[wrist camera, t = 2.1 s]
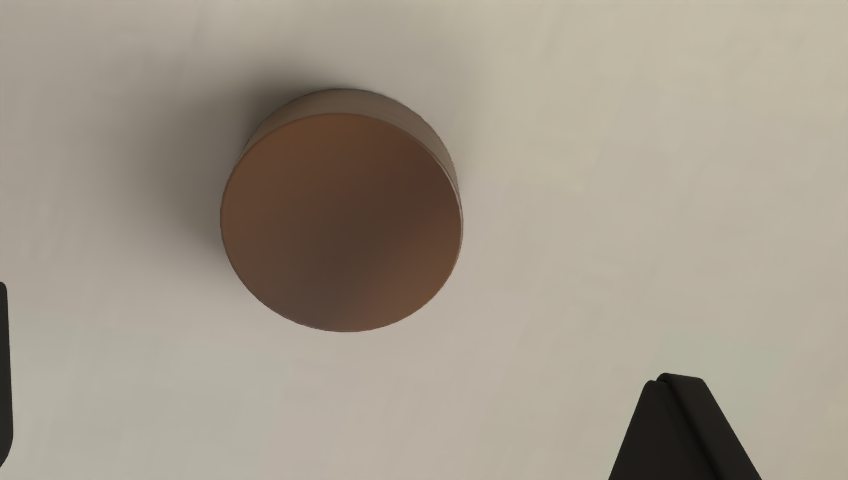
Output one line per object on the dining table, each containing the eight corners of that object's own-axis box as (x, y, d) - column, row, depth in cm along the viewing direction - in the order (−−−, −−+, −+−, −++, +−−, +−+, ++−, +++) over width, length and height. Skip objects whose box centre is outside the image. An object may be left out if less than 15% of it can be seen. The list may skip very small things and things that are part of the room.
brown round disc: (192, 208, 18) (171, 243, 16) (328, 39, 16) (319, 59, 14) (364, 327, 19) (360, 371, 17) (503, 184, 17) (513, 218, 16)
